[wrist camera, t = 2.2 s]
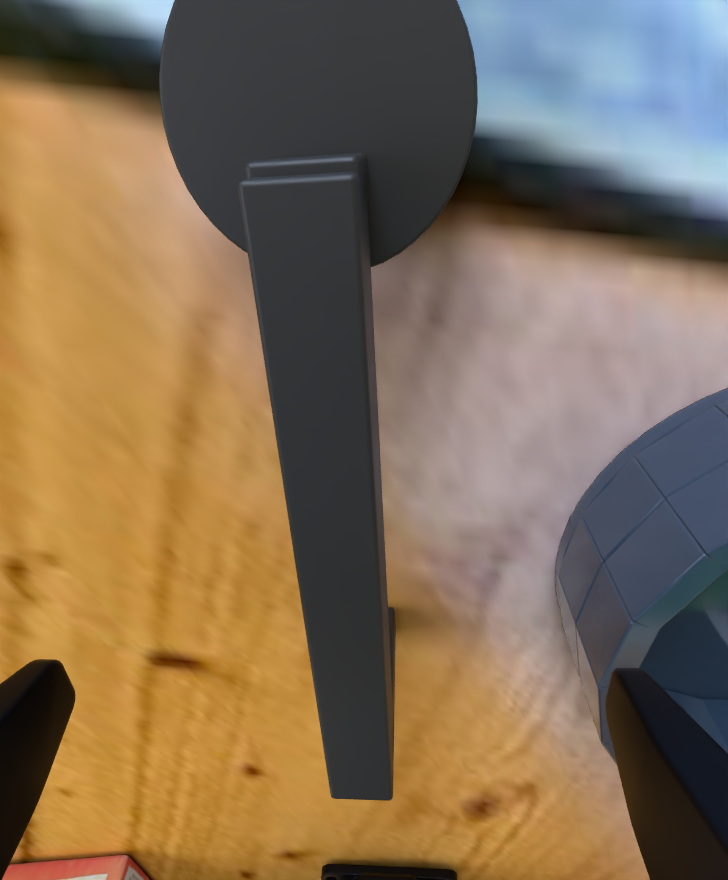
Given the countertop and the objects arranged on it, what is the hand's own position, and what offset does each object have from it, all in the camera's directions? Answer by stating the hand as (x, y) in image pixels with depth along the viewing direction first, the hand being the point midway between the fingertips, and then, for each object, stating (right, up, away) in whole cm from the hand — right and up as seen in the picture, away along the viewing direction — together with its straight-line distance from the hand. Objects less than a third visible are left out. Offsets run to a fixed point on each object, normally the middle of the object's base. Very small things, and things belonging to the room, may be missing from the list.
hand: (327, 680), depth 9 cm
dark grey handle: (0, +5, +6) cm, 8 cm away
